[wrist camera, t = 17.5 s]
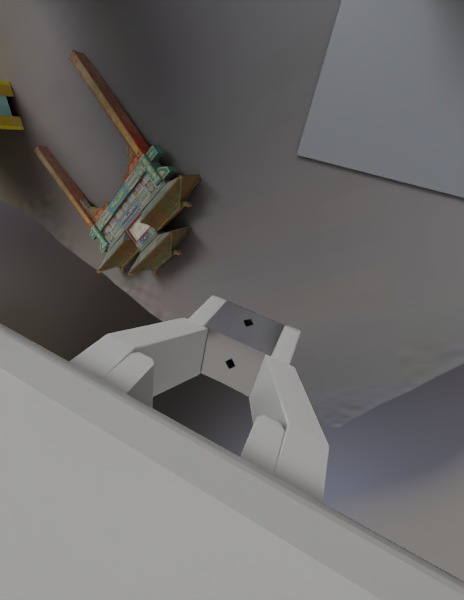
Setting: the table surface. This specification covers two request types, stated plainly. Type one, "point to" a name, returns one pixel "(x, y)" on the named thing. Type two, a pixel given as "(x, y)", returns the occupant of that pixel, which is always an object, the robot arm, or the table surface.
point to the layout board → (393, 93)
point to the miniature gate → (129, 193)
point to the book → (7, 109)
